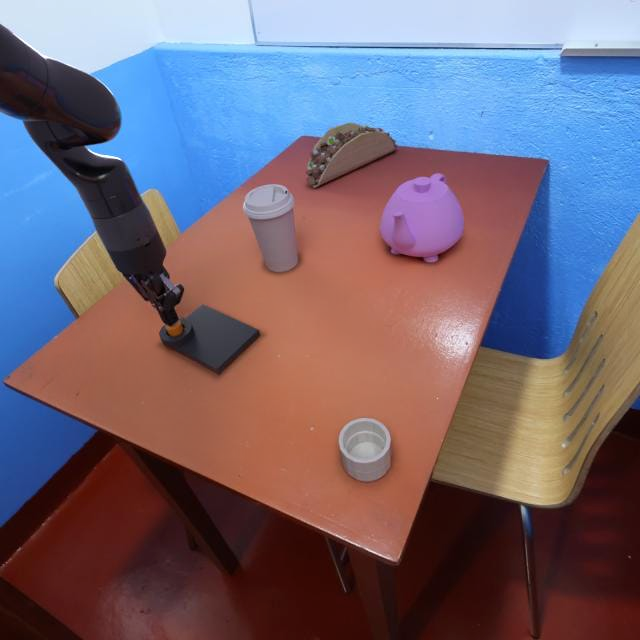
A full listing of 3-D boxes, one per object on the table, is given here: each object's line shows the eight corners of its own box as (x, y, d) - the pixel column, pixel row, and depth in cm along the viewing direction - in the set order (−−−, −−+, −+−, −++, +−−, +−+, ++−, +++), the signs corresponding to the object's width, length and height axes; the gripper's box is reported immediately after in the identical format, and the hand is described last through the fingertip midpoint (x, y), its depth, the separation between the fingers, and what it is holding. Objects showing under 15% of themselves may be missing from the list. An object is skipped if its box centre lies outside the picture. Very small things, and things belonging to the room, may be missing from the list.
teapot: (434, 290, 82) (437, 222, 73) (357, 270, 89) (350, 205, 80) (478, 226, 94) (485, 160, 85) (406, 212, 102) (406, 151, 92)
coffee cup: (294, 280, 90) (279, 210, 79) (250, 274, 93) (230, 206, 83) (312, 251, 96) (301, 183, 86) (271, 246, 99) (255, 180, 89)
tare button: (175, 338, 78) (172, 331, 77) (165, 333, 79) (162, 326, 78) (186, 328, 79) (183, 322, 78) (176, 323, 81) (173, 317, 80)
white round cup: (375, 492, 57) (372, 472, 53) (333, 468, 60) (328, 446, 56) (400, 453, 60) (399, 431, 57) (359, 432, 63) (356, 410, 60)
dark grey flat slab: (215, 378, 74) (210, 365, 72) (159, 346, 81) (152, 334, 79) (260, 335, 80) (256, 322, 78) (203, 309, 87) (198, 297, 85)
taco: (299, 182, 119) (292, 142, 112) (380, 145, 128) (378, 107, 122) (321, 194, 113) (315, 153, 106) (405, 154, 122) (404, 115, 115)
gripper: (81, 236, 68) (130, 322, 79) (136, 260, 61) (181, 350, 73) (123, 211, 72) (164, 297, 83) (179, 230, 65) (215, 321, 77)
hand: (172, 322), depth 78 cm, fingers closed
